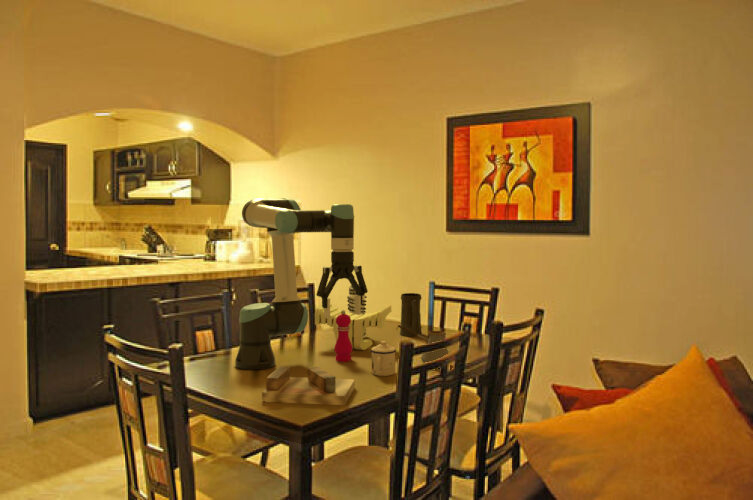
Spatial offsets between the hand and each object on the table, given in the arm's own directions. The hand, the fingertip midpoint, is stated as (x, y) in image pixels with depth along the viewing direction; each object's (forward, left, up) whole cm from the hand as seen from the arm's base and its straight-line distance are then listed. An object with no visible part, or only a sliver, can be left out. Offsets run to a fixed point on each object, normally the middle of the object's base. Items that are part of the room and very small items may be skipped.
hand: (342, 316), depth 198 cm
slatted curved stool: (-7, +61, -24) cm, 66 cm away
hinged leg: (-5, -11, -21) cm, 24 cm away
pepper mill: (-7, +37, -24) cm, 45 cm away
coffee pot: (+25, +34, -24) cm, 49 cm away
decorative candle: (-9, +82, -24) cm, 86 cm away
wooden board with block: (-9, -10, -24) cm, 27 cm away
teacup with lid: (+11, +18, -24) cm, 32 cm away
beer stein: (+17, +89, -24) cm, 94 cm away
